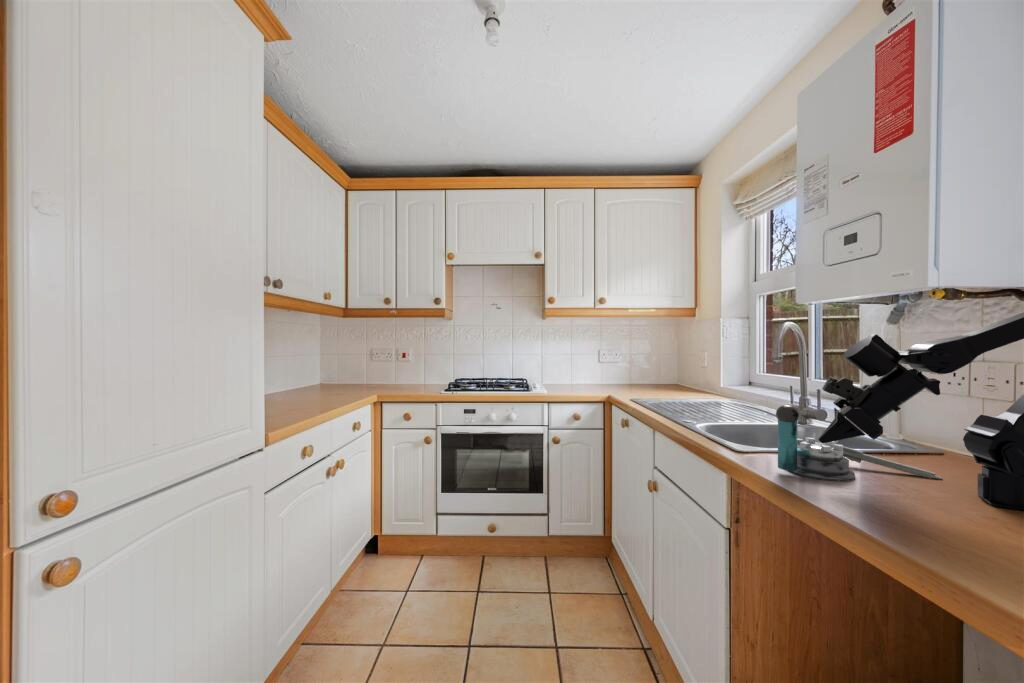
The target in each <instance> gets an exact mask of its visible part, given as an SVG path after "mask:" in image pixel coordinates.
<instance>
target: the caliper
mask: <svg viewBox="0 0 1024 683" xmlns="http://www.w3.org/2000/svg"><path fill="white" fill-rule="evenodd" d="M838 443H839V440H837V441H835V444H838ZM843 457H845V458H847V459H848V460H849V461H851V462H856V463H859V464H861V463H862V461H864V462H867V463H871V464H874V465H878V466H883V467H886V468H889V469H893V470H896V471H900V472H903V473H908V474H910V475H913V476H914V475H915V476H918V477H921V476H923V477H922V478H925V477H929V478H928V479H932V478H934V479H937V480H940V479H943V477H942V476H940V475H936V472H934V471H930V470H925V469H922V468H919V467H914V466H911V465H907V464H904V463H900V462H896V461H894V460H893V461H892V460H888V459H885V458H881V457H877V456H874V455H870V454H866V453H864V452H863V451H861V450H858V449H855V448H851V447H847V446H844V445H843Z"/></svg>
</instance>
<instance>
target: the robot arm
mask: <svg viewBox="0 0 1024 683" xmlns="http://www.w3.org/2000/svg"><path fill="white" fill-rule="evenodd" d="M1021 340H1024V311H1023V312H1021V313H1020V312H1019V313H1018V314H1015V315H1013V316H1010V317H1008V318H1004V319H1002V320H1000V321H996V322H993V323H990V324H987V325H985V326H983V327H980V328H976V329H974V330H972V331H969V332H966V333H964V334H963V333H962V334H961V335H957V336H956V335H955V336H952V337H945V338H939V339H934V340H929V341H923V342H919V343H916V344H913V345H911V346H910V347H909V348H908V349H906V350H896V349H895V348H893V347H892V346H891V345H890V344H888V343H886V341H885V340H884V339H883V337H880V335H878V334H870V335H868V336H867V337H866V338H863V339H862V340H860V341H858V342H856V343H855V344H852V345H850V346H849V347H848V348H847V350H845V351H844V354H843V355H842V356H843V358H844V359H846V361H848V362H849V363H851V364H852V365H853V366H854V367H855V368H857V369H858V370H859V371H861V372H862V373H863V374H864V375H866V376H867V377H869V378H870V377H875V376H876V377H877V378H878V379H877V380H876V381H875V382H873V383H871V384H864V385H862V386H861V387H859V386H856V385H854V382H853V380H851V379H849V378H846V377H844V376H843V377H842V378H840V379H838V378H836V377H833V376H831V375H830V376H828V378H827V380H826V381H825V383H824V384H823V386H822V388H821V389H822V390H823V391H824V392H826V393H827V394H832V395H836V396H838V398H837V399H836V400H834V401H833V402H832V403H833V405H834V406H836V407H838V408H839V409H837V408H836V407H834V408H833V411H834V412H833V413H834V419H833V420H832V421H831V422H830V424H829V425H828V426H827V427H826V429H825V430H824V431H823V432H822V434H820V436H819V437H818V441H819V443H828V442H833V441H835V442H836V441H841V440H845V439H851V438H856V437H861V436H862V437H865V436H866V435H867V436H869V438H871V440H873V441H874V440H877V439H878V438H879V437H881V436H882V435H883V434H884V426H882V425H881V421H880V420H882V419H883V418H884V417H886V416H887V415H889V414H890V413H892V412H895V413H897V412H898V411H900V410H901V406H903V404H906V403H907V402H908V401H909V400H912V398H913V397H915V396H917V395H918V394H920V393H921V392H922V391H923V390H926V391H928V392H929V393H932V394H933V395H935V396H939V395H941V388H940V384H941V381H940V380H938V379H937V378H929V377H927V376H926V375H925V374H923V373H931V374H939V375H946V374H951V373H953V372H956V371H958V370H959V369H961V368H963V367H965V366H967V365H969V364H971V363H972V362H973V361H974V360H976V359H977V358H978V357H979V356H981V355H982V354H983V355H984V354H985V353H987V352H990V351H993V350H995V349H998V348H1001V347H1004V346H1007V345H1010V344H1013V343H1015V342H1018V341H1021ZM902 364H904V365H908V366H909V367H910V369H907V368H906V367H905V366H903V365H902ZM922 372H923V373H922ZM963 429H964V431H965V432H966V431H967V432H966V433H965V434H964V436H963V437H962V438H963V439H962V440H963V443H964V447H965V448H966V450H967V452H969V453H970V454H972V456H973V458H974V460H975V463H976V464H979V465H981V473H980V472H979V473H977V495H978V496H979V497H980V498H981V499H983V500H984V501H985V502H987V503H988V504H989V505H991V506H993V507H999V508H1006V509H1013V510H1018V511H1019V510H1020V511H1024V393H1023V394H1022V395H1020V397H1018V399H1017V400H1016V401H1014V403H1012V405H1010V407H1009V408H1007V409H1006V410H1005V411H1004V412H1002V413H1001V414H999V415H998V414H997V415H996V416H992V415H988V414H980V415H979V416H978V417H976V419H975V421H974V422H973V423H972V424H971V425H970V426H968V427H966V428H963Z"/></svg>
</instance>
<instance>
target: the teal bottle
mask: <svg viewBox="0 0 1024 683" xmlns="http://www.w3.org/2000/svg"><path fill="white" fill-rule="evenodd" d="M775 417H776V419H777V468H778V469H780V470H783V471H788V472H790V471H797V455H800V456H803V457H806V458H811V459H817V460H825V461H840V460H843V446H844V445H843V444H840V443H839V444H835V442H836V441H833V442H828V443H821V442H817V441H816V439H815V438H814V437H805V441H804V440H803V438H798V422H799V419H800V412H799V411H798V409H797V408H796V407H795V406H793V405H788V404H784V405H783V404H782V405H780V406H779V407H778V408H777V409H776V411H775Z"/></svg>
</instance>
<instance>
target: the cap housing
mask: <svg viewBox="0 0 1024 683" xmlns="http://www.w3.org/2000/svg"><path fill="white" fill-rule="evenodd" d="M789 473H792V474H794V473H795V475H797V474H798V475H797V476H802V477H805V478H809V477H810V479H815V480H820V481H828V482H829V481H830V482H851V481H853V480H855V479H856V474H855V472H854V471H853V470H851V469H850V459H848V458H847V457H843V460H840V461H825V460H817V459H811V458H806V457H803V456H800V455H797V471H789Z"/></svg>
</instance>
